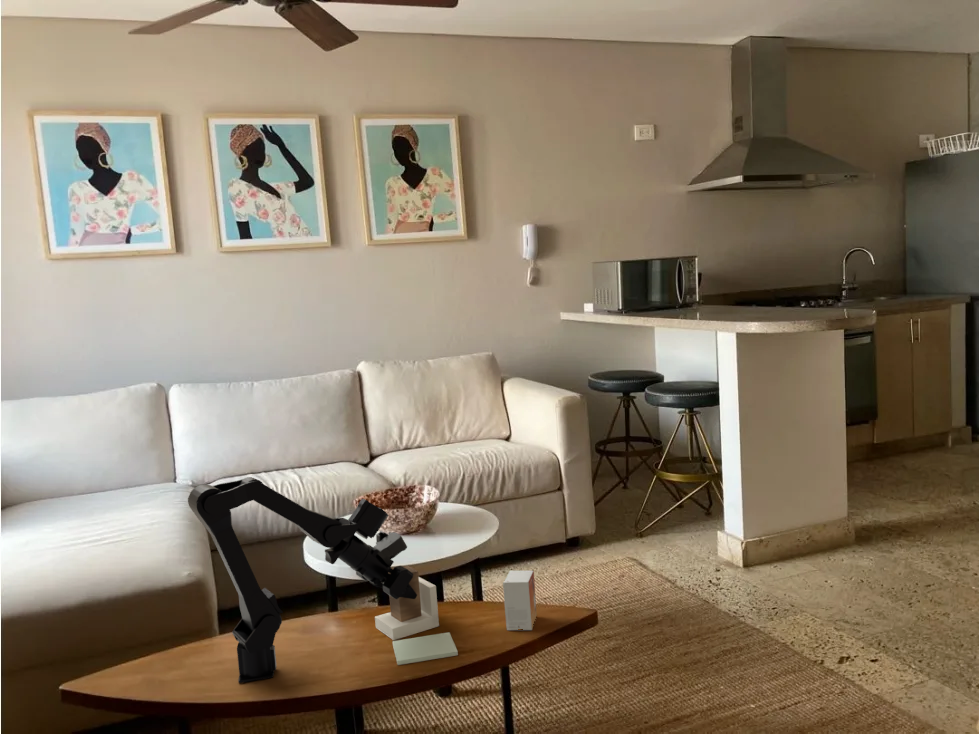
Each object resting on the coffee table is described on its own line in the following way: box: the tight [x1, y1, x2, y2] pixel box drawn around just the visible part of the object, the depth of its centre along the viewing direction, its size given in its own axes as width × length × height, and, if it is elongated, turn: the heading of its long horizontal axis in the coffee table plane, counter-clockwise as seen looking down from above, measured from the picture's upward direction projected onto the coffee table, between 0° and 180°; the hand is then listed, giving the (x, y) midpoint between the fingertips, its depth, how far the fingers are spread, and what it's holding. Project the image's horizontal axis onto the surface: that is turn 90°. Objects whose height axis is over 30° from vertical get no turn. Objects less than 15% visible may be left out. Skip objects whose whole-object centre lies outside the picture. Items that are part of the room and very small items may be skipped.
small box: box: [502, 569, 538, 631], centre depth 172 cm, size 8×6×10 cm
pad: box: [392, 632, 459, 666], centre depth 162 cm, size 12×10×1 cm
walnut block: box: [388, 565, 422, 622], centre depth 174 cm, size 5×5×10 cm
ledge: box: [374, 576, 440, 641], centre depth 175 cm, size 11×9×9 cm
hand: (410, 593), depth 175 cm, fingers closed on walnut block, 5 cm apart
